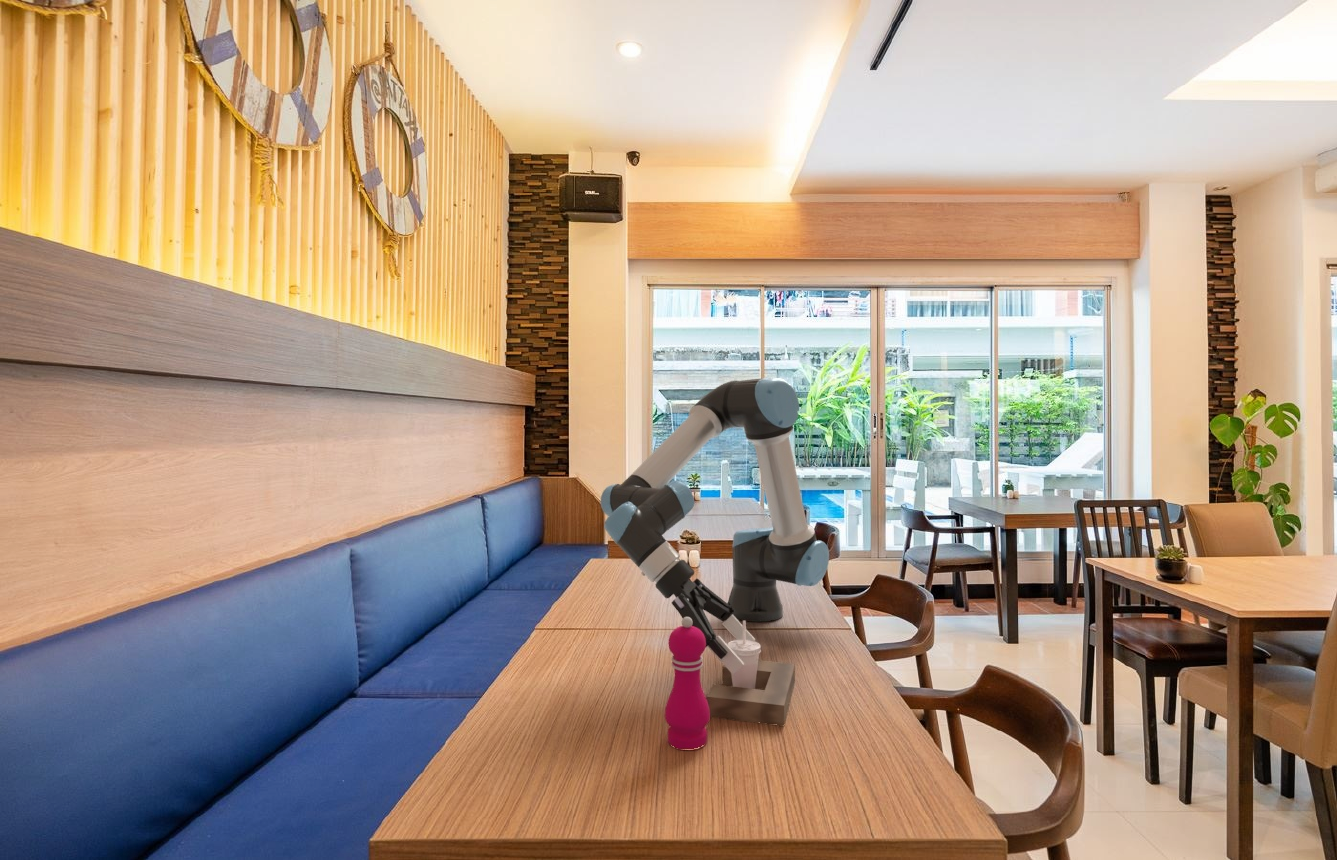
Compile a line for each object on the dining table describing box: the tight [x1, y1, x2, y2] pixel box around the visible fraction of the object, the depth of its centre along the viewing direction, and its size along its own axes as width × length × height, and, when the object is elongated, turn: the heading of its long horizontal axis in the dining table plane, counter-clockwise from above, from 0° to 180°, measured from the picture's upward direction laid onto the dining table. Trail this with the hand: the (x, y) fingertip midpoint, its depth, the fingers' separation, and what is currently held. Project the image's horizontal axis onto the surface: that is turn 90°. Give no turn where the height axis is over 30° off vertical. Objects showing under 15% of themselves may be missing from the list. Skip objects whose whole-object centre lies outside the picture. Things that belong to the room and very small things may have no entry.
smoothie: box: [726, 620, 762, 689], centre depth 120 cm, size 6×6×14 cm
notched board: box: [705, 659, 796, 726], centre depth 119 cm, size 14×20×4 cm
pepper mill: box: [664, 617, 711, 750], centre depth 102 cm, size 7×7×20 cm
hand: (745, 656), depth 119 cm, fingers open, 13 cm apart
